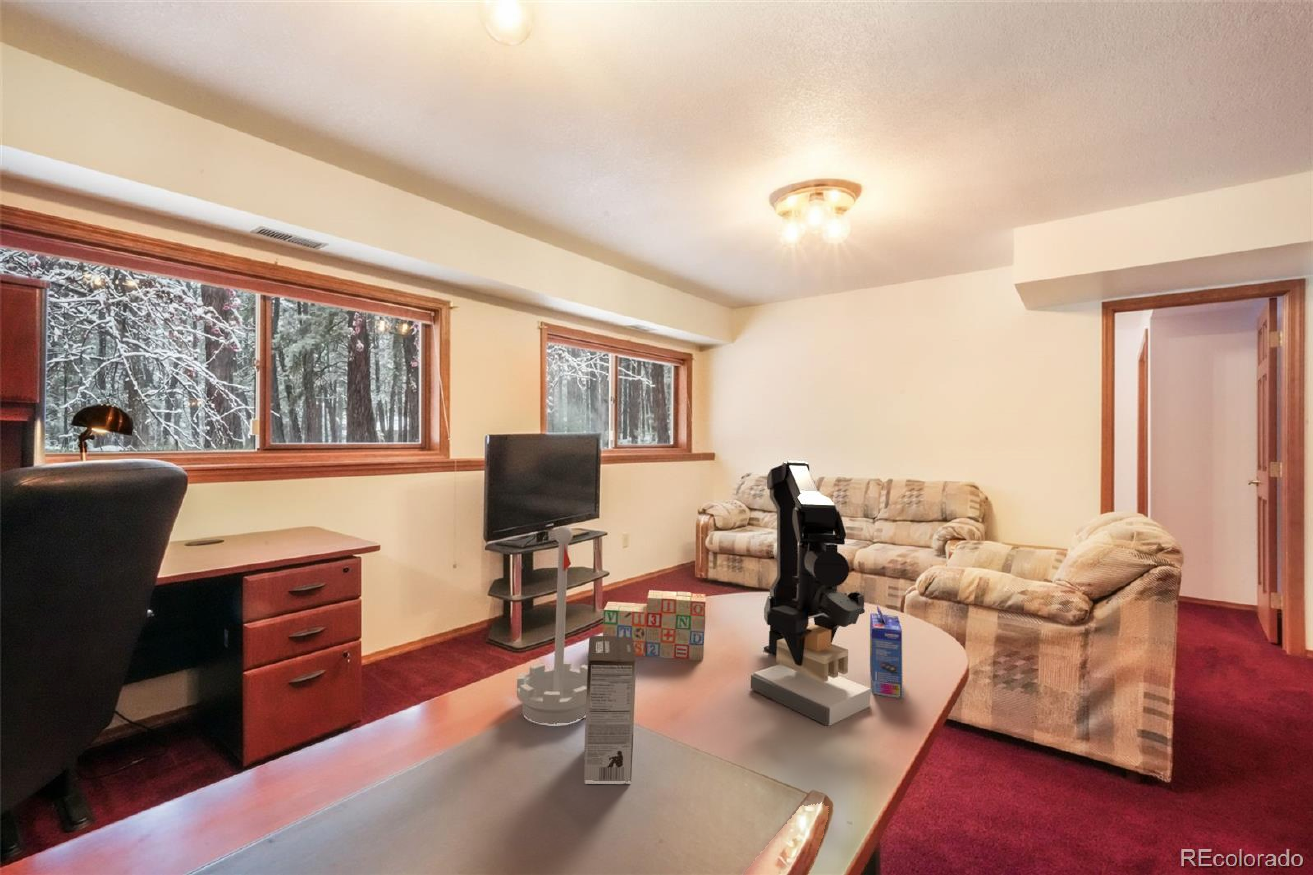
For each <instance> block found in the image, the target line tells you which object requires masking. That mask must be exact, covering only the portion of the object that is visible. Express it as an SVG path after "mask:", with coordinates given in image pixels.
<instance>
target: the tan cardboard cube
mask: <svg viewBox="0 0 1313 875" xmlns="http://www.w3.org/2000/svg"><path fill="white" fill-rule="evenodd" d="M807 629H809V630H812V632H811V633H810V634H808V635H807V636H806V637H805V644H804V647H806V648H809V649H811V650H814V651H817V652H818V651H821V650H824V649H827V648H829V647H831V644H832V643H831V630H830V629H827V628H824V627H821V626H818V625H815V623H811V622H809V623H808V627H807Z"/></svg>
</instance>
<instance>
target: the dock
mask: <svg viewBox="0 0 1313 875" xmlns="http://www.w3.org/2000/svg"><path fill="white" fill-rule="evenodd" d="M749 687H750V689H751V690H753V691H754V692H757V693H758V694H760V695H762V696H765V697H766V698H769V699H772V700H773V701H775V702H778V703H780V704H781V705H784V706H786V707H788V708H789V709H792V710H794V711H795V712H798V713H800V714H802V715H804V716H807V717H808V718H811V719H812V720H814V721H817V722H819V723H821V724H823V725H825V726H829V727H830V726H832V725H833V724H836V723H838V722H840V721H842V720H845V719H846V718H849V717H850V716H853V715H854V714H857V713H859V712H862V711H863V710H865V709H868V708H869V707H871V694H872V692H871V687H868V686H866V685H863V684H860V683H858V682H855V681H853V680H850V679H848V678H846V677H843V676H840V675H838V677H836V678H832V677H830V676H828V681H826V682H822V681H819V680H817V679H815V678H812V677H810V676H807V675H805V674H803V673H800V672H798V671H795V670H793V669H791V668H788V667H786V666H783V665H781V664H779V663H777V664H776V665H773V666H769V667H767V668H764V669H761V670H758V671H755V672H753V674H750V686H749Z"/></svg>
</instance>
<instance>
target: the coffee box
mask: <svg viewBox="0 0 1313 875" xmlns="http://www.w3.org/2000/svg"><path fill="white" fill-rule="evenodd" d="M587 652H588V653H587V666H588V667H587V691H586V718H584V722H585V723H584V724H585V726H584V762H583V763H584V764H583V765H584V766H583V767H584V768H583V769H584V770H583V781H584V780H593V781H626V782H628V781H631V782H632V777H633V776H632V771H633V750H634V748H633V747H634V746H633V745H634V727H635V726H634V724H635V723H634V722H635V700H636V676H637V673H636V671H637V670H636V669H637V658H636V657H637V655H635V649H634V642H633V637H617V636H603V635H591V636H589V641H588V651H587Z"/></svg>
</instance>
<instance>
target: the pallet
mask: <svg viewBox="0 0 1313 875" xmlns="http://www.w3.org/2000/svg"><path fill="white" fill-rule="evenodd" d="M775 662H776V663H777V664H781V665H783V666H786V667H788V668H791V669H793V670H795V671H798V672H800V673H803V674H805V675H807V676H810V677H812V678H815V679H817V680H819V681H822V682H826V681H828V676H830V677H832V678H836V677H838V676H839V673H840V674H842V675H845V674H848V672H849V671H848V670H849V669H848V668H849V649H848V648H844V647H841V646H839V645H837V644H833V643H831V647H829V648H827V649H824V650H821V651H818V652H817V651H814V650H811V649H809V648H806V647H804V653H803V660H802V665H801V666H798V665H796V664H795V662H794V660H793V657H792V655H791V653H790V650H789V648H788V646H787V643H786V641H785V639H784V638H783V639H780V640H777V655H776V661H775Z"/></svg>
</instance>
